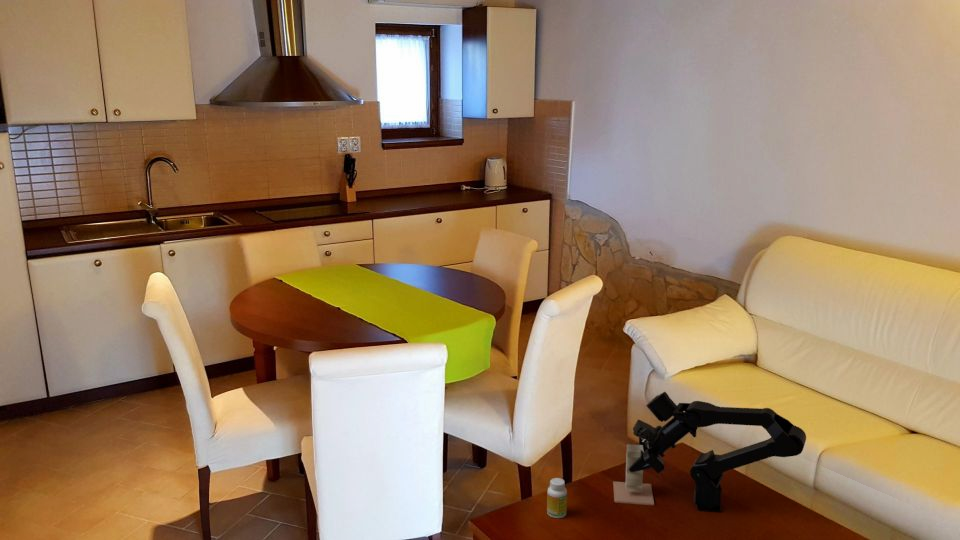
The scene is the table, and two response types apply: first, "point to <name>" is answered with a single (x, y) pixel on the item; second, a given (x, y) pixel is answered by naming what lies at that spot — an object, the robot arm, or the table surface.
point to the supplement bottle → (557, 498)
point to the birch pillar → (635, 478)
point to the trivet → (633, 494)
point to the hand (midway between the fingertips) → (629, 466)
